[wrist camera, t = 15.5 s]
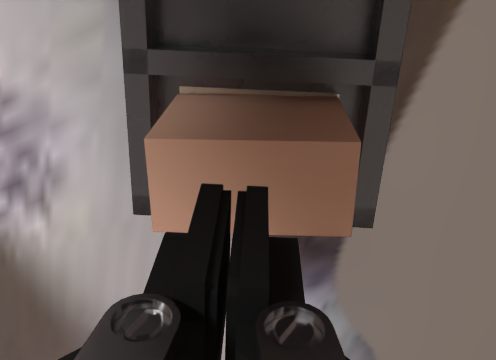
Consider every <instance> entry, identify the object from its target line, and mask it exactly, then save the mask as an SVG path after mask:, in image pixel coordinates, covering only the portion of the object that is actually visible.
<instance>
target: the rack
mask: <svg viewBox="0 0 496 360" xmlns="http://www.w3.org/2000/svg"><path fill="white" fill-rule="evenodd" d="M410 6H411V0H119V11H120V26H121V40H122V55H123V69H124V84H125V98H126V113H127V128H128V142H129V157H130V171H131V186H132V201H133V214H135V215H151V207H150V197H149V186H148V176H147V165H146V155H145V144H144V138H145V137H146V135H147V134H148V133H149V131H150V130H151V129H152V127H153V126H154V125H155V123H156V122H157V121H158V119H159V118H160V117H161V115H162V114H163V113H164V111H165V110H166V109H167V107H168V106H169V105H170V103H171V102H172V101H173V99H174V98H175V97H176V95H177V94H232V95H313V96H338V98H339V100H340V102H341V104H342V106H343V108H344V110H345V112H346V113H347V115H348V117H349V119H350V121H351V123H352V125H353V127H354V129H355V131H356V133H357V135H358V137H359V139H360V141H361V149H360V159H359V168H358V178H357V187H356V197H355V206H354V216H353V225H352V227H360V228H361V227H362V228H373V223H374V216H375V211H376V205H377V199H378V193H379V186H380V181H381V176H382V170H383V164H384V158H385V152H386V146H387V141H388V135H389V129H390V123H391V117H392V111H393V106H394V100H395V94H396V88H397V82H398V76H399V70H400V65H401V59H402V53H403V47H404V41H405V35H406V30H407V24H408V18H409V12H410Z"/></svg>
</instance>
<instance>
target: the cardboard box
mask: <svg viewBox="0 0 496 360" xmlns="http://www.w3.org/2000/svg"><path fill="white" fill-rule="evenodd" d="M144 144H145V155H146V165H147V176H148V186H149V197H150V207H151V218H152V229H153V232H182V233H188V230H189V226H190V223H191V219H192V215H193V212H194V208H195V205H196V201H197V197H198V194H199V190H200V187H201V184H202V183H205V184H223V187H224V190H231V231H230V234H233V230H234V221H235V213H236V204H237V195H238V191H246V190H247V186H266V187H268V211H269V235H295V236H335V237H351V235H352V225H353V216H354V206H355V197H356V187H357V178H358V168H359V159H360V149H361V141H360V139H359V137H358V135H357V133H356V131H355V129H354V127H353V125H352V123H351V121H350V119H349V117H348V115H347V113H346V112H345V110H344V108H343V106H342V104H341V102H340V100H339V98H338V96H313V95H232V94H177V95H176V97H175V98H174V99H173V101H172V102H171V103H170V105H169V106H168V107H167V109H166V110H165V111H164V113H163V114H162V115H161V117H160V118H159V119H158V121H157V122H156V123H155V125H154V126H153V127H152V129H151V130H150V131H149V133H148V134H147V135H146V137H145V138H144Z"/></svg>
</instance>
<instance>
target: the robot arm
mask: <svg viewBox="0 0 496 360" xmlns="http://www.w3.org/2000/svg"><path fill="white" fill-rule="evenodd" d="M230 231H231V190H224V187H223V184H205V183H202V184H201V187H200V190H199V194H198V197H197V201H196V205H195V208H194V212H193V215H192V219H191V223H190V226H189V230H188V233H182V232H166V233H165V235H164V237H163V240H162V243H161V245H160V248H159V251H158V254H157V257H156V259H155V262H154V265H153V268H152V271H151V273H150V276H149V279H148V282H147V284H146V287H145V290H144V293H143V294H138V295H132V296H129V297H127V298H124V299H121V300H120V301H118V302H117V303H115V304H113V305H112V306H111V307H110V308H109V309H108V310H107V311H106V312H105V314H104V315H103V317H102V318H101V320H100V321H99V323H98V324H97V326H96V327H95V329H94V330H93V332H92V333H91V335H90V336H89V338H88V339H87V341H86V342H85V344H84V345H83V347H81V348H79V349H77V350H75V351H74V352H72V353H70V354H68V355H66V356H64V357H62V358H60V359H58V360H221V354H222V345H223V336H224V327H225V318H226V347H225V360H350V359H348V358H347V357H346V356H344V353H343V351H342V348H341V345H340V343H339V340H338V338H337V335H336V332H335V330H334V327H333V325H332V323H331V322H330V320H329V318H328V317H327V316H326V315H325V314H324V313H323V312H322V311H320V310H319V309H317V308H315V307H313V306H311V305H309V304H305V299H304V290H303V281H302V272H301V263H300V254H299V246H298V239H297V238H280V237H269V211H268V187H266V186H247V190H246V191H238V195H237V204H236V213H235V221H234V230H233V239H232V247H231V256H230Z"/></svg>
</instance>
